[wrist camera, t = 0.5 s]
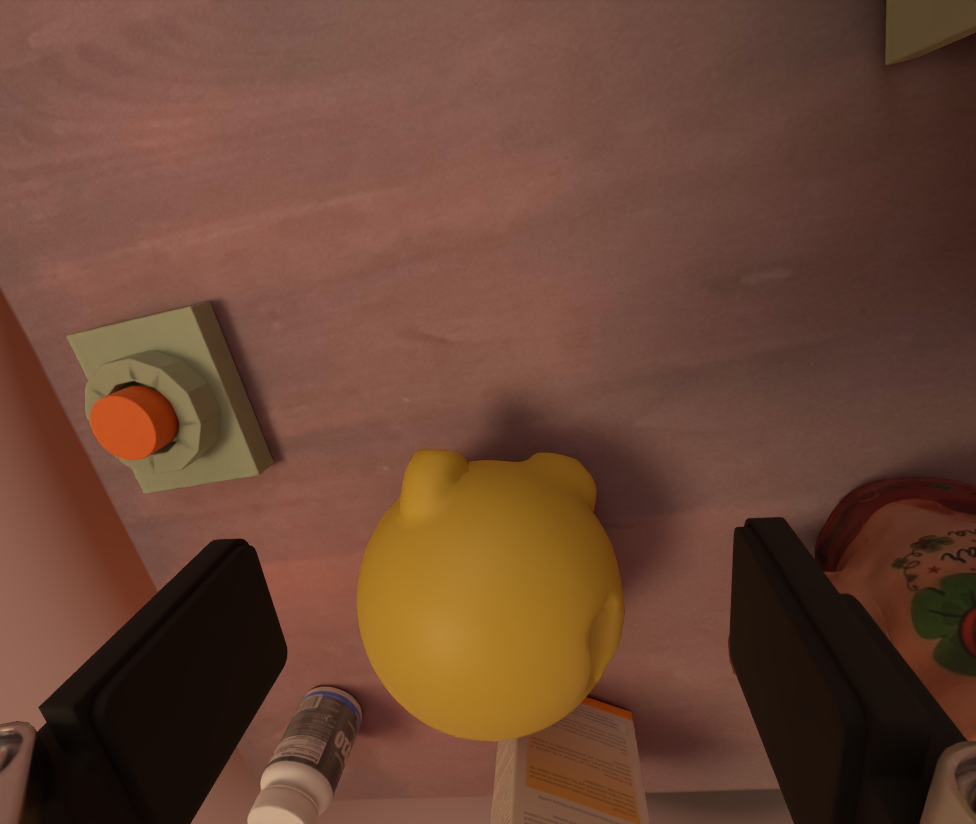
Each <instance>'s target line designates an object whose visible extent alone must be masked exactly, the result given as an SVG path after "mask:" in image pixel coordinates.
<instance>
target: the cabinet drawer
mask: <svg viewBox="0 0 976 824" xmlns="http://www.w3.org/2000/svg"><path fill="white" fill-rule="evenodd" d="M974 33H976V0H886V55H885V64H886V65H891V64H895V63H899V62H903V61H906V60H910V59H914V58H917V57H920V56H922V55H925V54H927V53H929V52H932V51H934V50H936V49H939V48H941V47H943V46H946V45H948V44H950V43H953V42H955V41H957V40H960V39H962V38H964V37H967V36H969V35H971V34H974Z"/></svg>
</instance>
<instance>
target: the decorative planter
mask: <svg viewBox="0 0 976 824" xmlns="http://www.w3.org/2000/svg"><path fill="white" fill-rule="evenodd" d="M815 561H816V562H817V564H818V565H819V566H820V568H821V569H822V570H823V572H824V573H825V574H826V576H827V577H828V578H829V580H830V581H831V582H832V584H833V585H834V587H835V588H836V589H837V591H838V592H839V593H848V594H850V595H853V596H854V597H855V598H856V599H857V600H858V601H859V602H860V603H861V604H862V605H863V607H864V608H865V609H866V610H867V612H868V613H869V614H870V616H871V617H872V618H873V619H874V621H875V622H876V623H877V625H878V626H879V627H880V628H881V630H882V631H883V632H884V634H885V635H886V636H887V637H888V639H889V640H890V641H891V643H892V644H893V645H894V647H895V648H896V649H897V650H898V652H899V653H900V654H901V656H902V657H903V658H904V659H905V661H906V662H907V663H908V665H909V666H910V667H911V668H912V670H913V671H914V672H915V674H916V675H917V676H918V677H919V679H920V680H921V681H922V683H923V684H924V685H925V686H926V688H927V689H928V690H929V692H930V693H931V694H932V696H933V697H934V698H935V699H936V701H937V702H938V703H939V705H940V706H941V707H942V708H943V710H944V711H945V712H946V714H947V715H948V716H949V717H950V719H951V720H952V721H953V723H954V724H955V725H956V726H957V728H958V729H959V730H960V732H961V733H962V734H963V735H964V737H965V738H966V739H967V741H976V486H974V485H970V484H966V483H962V482H958V481H953V480H947V479H939V478H926V477H915V478H897V479H888V480H882V481H878V482H874V483H871V484H868V485H865V486H863V487H861V488H859V489H857V490H855V491H854V492H852V493H851V494H850V495H848V496H847V497H846V498H845V499H844V500H842V501H841V503H840V504H839V505H838V506H837V507H836V509H835V510H834V511H833V513H832V515H831V516H830V518H829V520H828V521H827V523H826V525H825V527H824V528H823V530H822V532H821V534H820V536H819V539H818V541H817V544H816V550H815ZM729 640H730V635H729ZM729 640H728V647H729ZM729 659H730V663H731V666H732V669H733V673H734V674H735V675H736V673H735V670H734V667H733V664H732V661H731V656H730V648H729ZM736 676H737V675H736Z"/></svg>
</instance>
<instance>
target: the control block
mask: <svg viewBox="0 0 976 824" xmlns="http://www.w3.org/2000/svg"><path fill="white" fill-rule="evenodd" d="M66 337H67V339H68V341H69V343H70V345H71V347H72V349H73V351H74V353H75V355H76V357H77V359H78V361H79V363H80V365H81V367H82V369H83V372H84V374H85V376H86V378H87V380H88V383H87V384H86V386H85V414H86V417H87V419H88V421H89V423H90V413H91V410H92V407H93V406H94V404H95V403H96V402H97V401H98V400H99V399H101V398H103V397H105V396H107V395H110V394H112V393H115V392H117V391H119V390H122V389H124V388H127V387H130V386H134V385H141V386H146V387H150V388H152V389H154V390H156V391H158V392H159V393H161V394H162V395H163V396H164V397H165V398H166V399H167V400H168V401H169V402H170V403H171V405H172V406H173V409H174V411H175V413H176V415H177V418H178V431H177V434H176V436H175V438H174V439H173V441H172V442H171V443H169V444H168V445H166V446H164V447H163V448H161V449H159V450H158V451H156V452H154V453H153V454H151V455H149V456H148V457H146V458H144V459H141V460H126V459H122V458H119V457H117V456H115V455H114V456H115V457H116V458H117V459H118V460H120V461H121V462H122V463H123V464H124V465H126V466H129V467H131V468H132V470H133V472H134V474H135V476H136V478H137V480H138V482H139V485H140V487H141V489H142V491H143V493H144V494H147V493H153V492H159V491H165V490H171V489H177V488H183V487H189V486H195V485H202V484H208V483H214V482H220V481H226V480H232V479H238V478H244V477H250V476H256V475H260V474H261V473H262V472H263V471H265V470H266V469H267V468H268V467H269V466H270V465H271V464H273V459H272V457H271V454H270V452H269V449H268V447H267V444H266V442H265V439H264V437H263V434H262V431H261V429H260V426H259V424H258V421H257V419H256V416H255V414H254V411H253V409H252V406H251V404H250V401H249V399H248V396H247V394H246V391H245V389H244V386H243V384H242V381H241V379H240V376H239V373H238V371H237V368H236V366H235V363H234V361H233V358H232V356H231V353H230V351H229V348H228V346H227V343H226V341H225V338H224V336H223V333H222V331H221V328H220V326H219V323H218V321H217V318H216V315H215V313H214V310H213V308H212V305H211V303H210V302H209V301H208V302H204V303H199V304H195V305H191V306H187V307H183V308H178V309H174V310H170V311H166V312H162V313H158V314H153V315H149V316H145V317H141V318H137V319H133V320H128V321H124V322H120V323H116V324H112V325H107V326H103V327H99V328H95V329H91V330H87V331H83V332H79V333H75V334H71V335H67V336H66ZM90 424H91V423H90Z"/></svg>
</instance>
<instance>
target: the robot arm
mask: <svg viewBox="0 0 976 824" xmlns="http://www.w3.org/2000/svg"><path fill="white" fill-rule="evenodd" d="M729 648H730V656H731V661H732V664H733V667H734V670H735V673H736V675H737V678H738V680H739V683H740V686H741V688H742V691H743V693H744V696H745V698H746V701H747V704H748V706H749V709H750V711H751V714H752V717H753V719H754V722H755V724H756V727H757V729H758V732H759V735H760V737H761V740H762V742H763V745H764V747H765V750H766V753H767V755H768V758H769V760H770V763H771V766H772V768H773V771H774V773H775V776H776V778H777V781H778V784H779V786H780V789H781V791H782V794H783V796H784V799H785V802H786V804H787V807H788V809H789V812H790V815H791V817H792V820H793V822H794V824H976V741H967V739H966V738H965V737H964V735H963V734H962V733H961V732H960V730H959V729H958V728H957V726H956V725H955V724H954V723H953V721H952V720H951V719H950V717H949V716H948V715H947V714H946V712H945V711H944V710H943V708H942V707H941V706H940V705H939V703H938V702H937V701H936V699H935V698H934V697H933V696H932V694H931V693H930V692H929V690H928V689H927V688H926V686H925V685H924V684H923V683H922V681H921V680H920V679H919V677H918V676H917V675H916V674H915V672H914V671H913V670H912V668H911V667H910V666H909V665H908V663H907V662H906V661H905V659H904V658H903V657H902V656H901V654H900V653H899V652H898V650H897V649H896V648H895V647H894V645H893V644H892V643H891V641H890V640H889V639H888V637H887V636H886V635H885V634H884V632H883V631H882V630H881V628H880V627H879V626H878V625H877V623H876V622H875V621H874V619H873V618H872V617H871V616H870V614H869V613H868V612H867V610H866V609H865V608H864V607H863V605H862V604H861V603H860V602H859V601H858V600H857V599H856V598H855V597H854V596H853V595H850V594H848V593H839V592H838V591H837V589H836V588H835V587H834V585H833V584H832V582H831V581H830V580H829V578H828V577H827V576H826V574H825V573H824V572H823V570H822V569H821V568H820V566H819V565H818V564H817V562H816V561H815V559H814V558H813V557H812V555H811V554H810V553H809V551H808V550H807V549H806V547H805V546H804V545H803V543H802V542H801V541H800V539H799V538H798V537H797V535H796V534H795V532H794V531H793V530H792V528H791V527H790V526H789V524H788V523H787V522H786V520H785V519H784V518H781V517H772V518H748V519H747V520H746V521H745V525H744V527H736V528H735V531H734V544H733V568H732V592H731V616H730V640H729ZM286 660H287V645H286V642H285V639H284V636H283V633H282V630H281V627H280V623H279V620H278V617H277V614H276V611H275V608H274V605H273V602H272V599H271V596H270V593H269V589H268V586H267V583H266V580H265V577H264V574H263V571H262V568H261V565H260V562H259V558H258V555H257V552H256V550H255V548H254V547H253V546H250V545H249V544H248V542H247V541H245V540H244V539H218V540H213V541H212V542H210V543H209V544H208V545H207V546H206V547H205V548H204V549H203V550H202V551H201V552H200V553H199V554H198V555H197V556H195V557H194V558H193V559H192V560H191V561H190V562H189V563H188V564H187V565H186V566H185V567H184V568H183V569H182V570H181V571H180V572H179V573H178V574H177V575H176V576H175V577H174V578H173V579H172V580H170V581H169V582H168V583H167V584H166V585H165V586H164V587H163V588H162V589H161V590H160V591H159V592H158V593H157V594H156V595H155V596H154V597H153V598H152V599H151V600H150V601H149V602H148V603H147V604H146V605H145V606H144V607H142V608H141V609H140V610H139V611H138V612H137V613H136V614H135V615H134V616H133V617H132V618H131V619H130V620H129V621H128V622H127V623H126V624H125V625H124V626H123V627H122V628H121V629H120V630H119V631H117V632H116V633H115V635H113V636H112V637H111V638H110V639H109V640H108V641H107V642H106V643H105V644H104V645H103V646H102V647H101V648H100V649H99V650H98V651H97V652H96V653H95V654H94V655H92V656H91V657H90V658H89V659H88V660H87V661H86V662H85V663H84V664H83V665H82V666H81V667H80V668H79V669H78V670H77V671H76V672H75V673H74V674H73V675H72V676H71V677H70V678H69V679H67V680H66V681H65V682H64V683H63V684H62V685H61V686H60V687H59V688H58V689H57V690H56V691H55V692H54V693H53V694H52V695H51V696H50V697H49V698H48V699H47V700H46V701H45V702H44V703H43V704H42V705H40V706H39V709H40V711H41V713H42V715H43V716H44V718H45V720H46V722H47V723H46V724H45V725H44V726H43V727H42V728H41V729H40V730H39V731H38V732H37V731H36V730H35V728H34V727H33V726H32V725H31V724H29V723H28V722H20V721H16V722H10V723H5V724H1V725H0V824H191V822H192V820H193V819H194V817H195V815H196V814H197V811H198V810H199V808H200V807H201V805H202V803H203V802H204V800H205V798H206V797H207V795H208V793H209V792H210V790H211V788H212V787H213V785H214V783H215V781H216V780H217V778H218V777H219V775H220V773H221V772H222V770H223V768H224V767H225V765H226V763H227V762H228V760H229V758H230V756H231V755H232V753H233V751H234V750H235V748H236V746H237V745H238V743H239V741H240V740H241V738H242V736H243V735H244V733H245V731H246V730H247V728H248V726H249V725H250V723H251V721H252V720H253V718H254V716H255V714H256V713H257V711H258V709H259V708H260V706H261V704H262V703H263V701H264V699H265V698H266V696H267V694H268V693H269V691H270V689H271V688H272V686H273V684H274V683H275V681H276V679H277V678H278V676H279V674H280V673H281V671H282V669H283V667H284V665H285V663H286Z"/></svg>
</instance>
